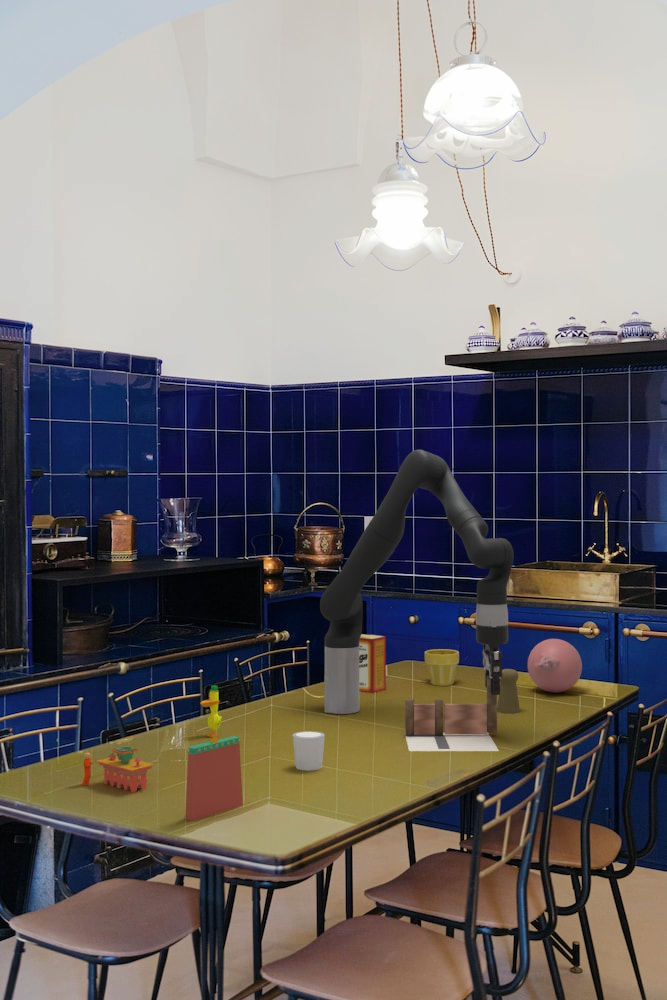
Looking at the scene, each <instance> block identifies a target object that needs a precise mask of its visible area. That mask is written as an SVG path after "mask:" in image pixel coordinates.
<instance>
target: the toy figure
mask: <svg viewBox="0 0 667 1000" xmlns="http://www.w3.org/2000/svg"><path fill="white" fill-rule="evenodd" d="M210 687H211V688H210V689H209V699H205V700H202V701H201V702H200V705H201V706H202V707H204V708H208V707H209V708H210V714H209V716H208V718H207V722H206V723H207V727H208V728H209V729H210V730H211V732H210V733H207V736H206V737H209V738H213V736H215V737H216V738H217V737H218V734H217V730H219V728H220V726H221V725H222V715H219V714H218V712H219V711H218V710H219V703H220V702H221V700H219V691H220V690H219V689H218V687H219V686H218V685H210Z"/></svg>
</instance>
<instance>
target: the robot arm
mask: <svg viewBox="0 0 667 1000" xmlns="http://www.w3.org/2000/svg"><path fill="white" fill-rule="evenodd" d="M418 488H419V489H423V490H426V491H429V492H430V493H431V494H433V496H435V497H436V498H437V499H438V500H439V501H440V502H441V504H442V505H443V507H444V511H445V516H446V519H447V520H448V523H449V524H450V526H451V527H452V528H453V530H454V531H455V532H456V534H457V535H458V536H459V537H460V539H461V540H462V543H463V546H464V549H465V551H466V555H467V557H468V559H469V561H470V562H471V564H472V565H474V566H475V567H477V568H479V569H489V573H488V575H487V576H486V577H483V578H480V580H478V581H477V584H476V609H475V641H476V642H477V643H478V644H480V645H482V648H483V649H482V657H483V658H482V667H483V670H484V682H485V683H484V684H485V685H484V686H485V688H486V689H487V676H489V677H490V693H491V695H497V696H499V694H500V679H501V677H502V670H503V659H502V657H503V653H502V651H501V650H500V648H499V646H500V645H505V644H508V642H509V611H508V602H507V600H508V598H507V596H508V591H507V589H508V588H507V587H508V584H509V583H508V582H509V581H510V580H509V579H510V575H511V571H512V567H513V563H514V557H515V555H514V549H513V546H512V544H511V542H510V541H508V539H506V538H502V537H498V538H497V537H496V538H495V537H494V538H486V537H487V535H488V533H489V526H488V524H487V523H486V521H485V519H483V517H482V516H481V515H480V513H479V512H478V511H477V510H476V509H475V507H474V506H473V505H472V504H471V503H470V501H469V500H468V498H467V497H466V496H465V494H464V492H463V491H462V489H461V488H460V486H459V484H458V482H457V481H456V479H455V477H454V475H453V472H452V471H451V468H450V467H449V465H448V464H447V462H446V461H445V460H444V458H442V457H440V456H439V455H436V454H435V453H434V454H433V453H432V452H429V451H426V450H424V449H415V450H413V451H411V452H410V453H409V454H408V455H407V456H406V457H405V459H404V460H403V461H402V463H401V465H400V467H399V469H398V472H397V473H396V476H395V477H394V480H393V482H392V484H391V486H390V488H389V489H388V492H387V493H386V495H385V497H384V498H383V500H382V502H381V504H380V505H379V507H378V509H377V511H376V512H375V514H374V516H372V519H371V520H370V521H369V522H368V525H367V526H366V528H365V530H364V531H363V533H362V534H361V536H360V538H359V540H358V541H357V542H356V543H355V544H356V545H355V546H354V548H353V549H352V551H351V553H350V555H349V557H348V558H347V560H346V562H345V564H344V565H343V566H342V568H341V569H340V571H339V573H338V574H337V575H336V576H335V577H334V579H333V580H332V582H331V583H330V584H329V585H328V587H327V588H326V589H325V591H324V592H323V594H322V595H321V598H320V600H319V601H320V602H319V609H320V613H321V614H322V616H323V618H325V619H326V620H327V621H329V627H328V631H327V632H326V633H325V636H324V679H323V680H324V684H323V685H324V695H323V696H324V713H325V714H326V713H327V714H335V715H336V714H337V715H345V714H346V715H347V714H356V713H358V712H360V703H361V702H360V691H359V640H360V636H361V634H363V613H364V612H363V606H364V605H363V599H362V594H361V591H362V589H363V587H364V586H365V584H366V583H367V582H368V581H369V579H370V578H371V577H372V576H373V575H374V574H375V573H376V572H377V571H379V569H381V567H383V566H384V564H385V563H386V562H387V560H389V559H390V557H391V556H392V555H393V553H394V552H395V549H396V548H397V547H398V545H399V543H400V542H401V540H402V538H403V536H404V532H405V524H406V512H407V508H408V505H409V503H410V501H411V499H412V497H413V496H414V494H415V492H417V490H418Z"/></svg>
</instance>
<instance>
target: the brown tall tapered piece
mask: <svg viewBox="0 0 667 1000" xmlns="http://www.w3.org/2000/svg"><path fill="white" fill-rule="evenodd" d="M518 680H519V674H518V671H517V670H515V669H512V668H504V669H503V668H502V677H501V679H500V694H499V695H498V697H497V713H501V714H502V713H503V714H518V713H520V711H521V710H520V703H519V702H520V701H519V694H518V687H517V685H518V684H517V681H518Z"/></svg>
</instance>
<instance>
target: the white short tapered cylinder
mask: <svg viewBox="0 0 667 1000" xmlns="http://www.w3.org/2000/svg"><path fill="white" fill-rule="evenodd" d="M325 736H326V734H325V733H323V732H321V731H315V730H313V731H312V730H309V731H308V730H305V731H304V730H302V731H297V732H294V733H292V741H293V753H294V762H295V769H297V770H299V771H307V772H308V771H309V772H310V771H317V770H321V769H322V768H323V759H324V747H325V739H326V738H325Z"/></svg>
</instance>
